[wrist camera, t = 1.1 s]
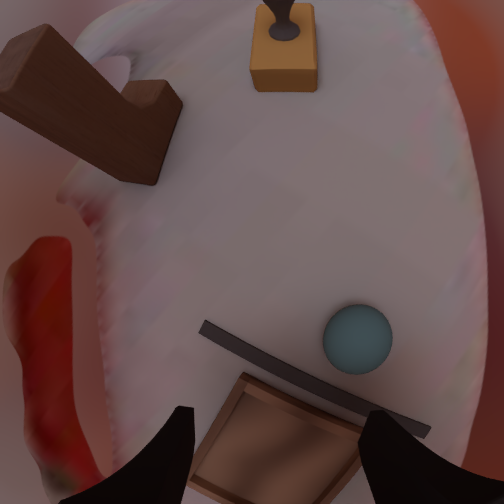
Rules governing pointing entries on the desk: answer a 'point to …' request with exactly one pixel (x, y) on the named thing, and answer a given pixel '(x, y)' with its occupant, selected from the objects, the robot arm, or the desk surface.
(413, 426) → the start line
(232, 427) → the tray
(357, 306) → the ball
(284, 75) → the rubber stamp
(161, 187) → the desk surface
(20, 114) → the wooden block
